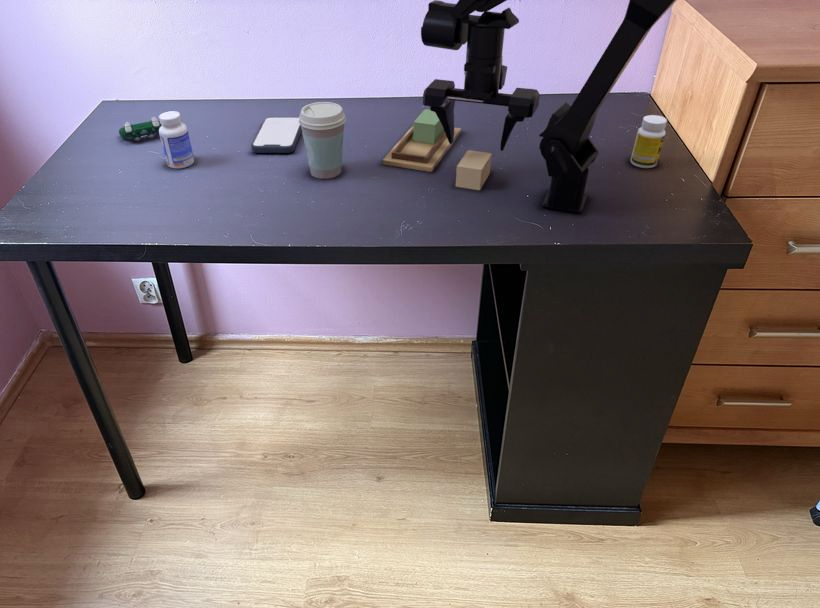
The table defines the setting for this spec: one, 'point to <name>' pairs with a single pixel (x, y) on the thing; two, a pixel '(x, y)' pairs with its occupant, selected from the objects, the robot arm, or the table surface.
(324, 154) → the coffee cup
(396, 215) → the table surface
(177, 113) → the pill bottle
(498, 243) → the table surface
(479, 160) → the beige rectangular block
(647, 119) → the supplement bottle
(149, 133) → the green toy car
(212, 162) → the table surface
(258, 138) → the phone case
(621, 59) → the robot arm
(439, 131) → the green rectangular block
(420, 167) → the wooden tray
